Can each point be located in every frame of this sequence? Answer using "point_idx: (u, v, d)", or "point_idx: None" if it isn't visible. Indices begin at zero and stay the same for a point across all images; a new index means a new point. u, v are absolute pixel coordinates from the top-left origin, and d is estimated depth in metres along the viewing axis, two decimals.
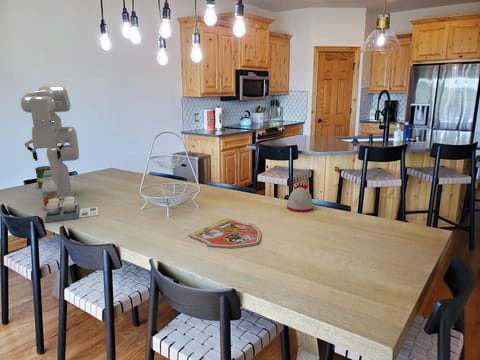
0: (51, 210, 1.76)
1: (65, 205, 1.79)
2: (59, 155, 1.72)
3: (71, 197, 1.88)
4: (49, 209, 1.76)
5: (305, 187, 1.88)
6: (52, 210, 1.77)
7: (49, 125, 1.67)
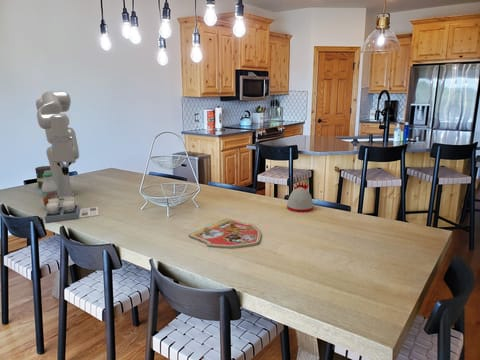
0: (51, 210, 1.76)
1: (65, 205, 1.79)
2: (67, 171, 1.84)
3: (71, 197, 1.88)
4: (49, 209, 1.76)
5: (305, 187, 1.88)
6: (52, 210, 1.77)
7: (67, 141, 1.79)
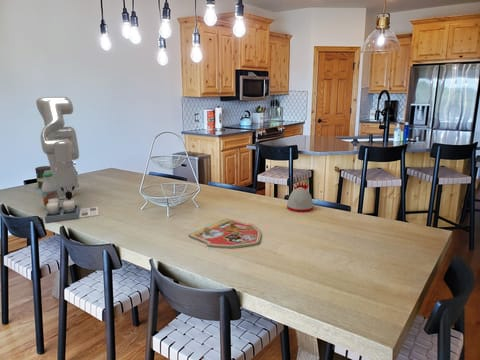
0: (51, 210, 1.76)
1: (65, 205, 1.79)
2: (71, 196, 1.87)
3: (71, 198, 1.88)
4: (49, 209, 1.76)
5: (305, 187, 1.88)
6: (52, 210, 1.77)
7: (71, 166, 1.82)
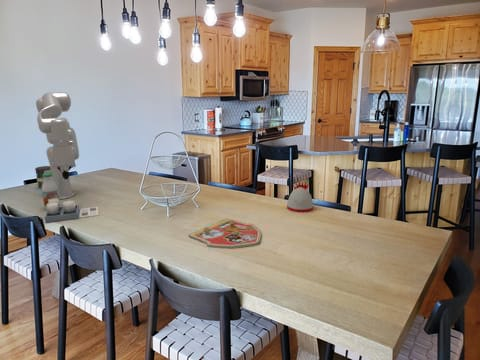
0: (51, 210, 1.76)
1: (65, 205, 1.79)
2: (67, 175, 1.84)
3: None
4: (49, 209, 1.76)
5: (305, 187, 1.88)
6: (52, 210, 1.77)
7: (68, 145, 1.80)
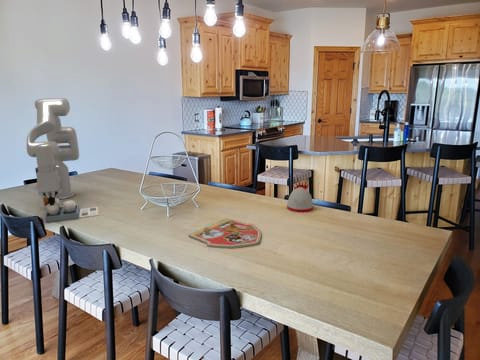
0: (51, 211, 1.77)
1: (65, 205, 1.79)
2: (53, 201, 1.77)
3: None
4: (49, 210, 1.76)
5: (305, 187, 1.88)
6: (52, 211, 1.77)
7: (53, 170, 1.73)
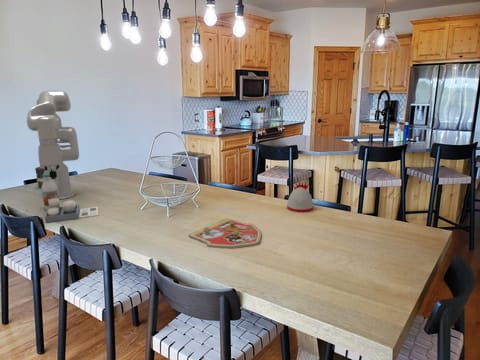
0: (52, 215, 1.77)
1: (65, 205, 1.79)
2: (55, 175, 1.77)
3: None
4: (50, 214, 1.77)
5: (305, 187, 1.88)
6: (53, 215, 1.77)
7: (55, 144, 1.72)
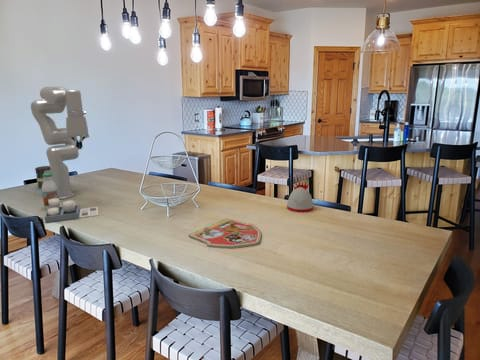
0: (52, 215, 1.77)
1: (65, 205, 1.79)
2: (81, 146, 1.89)
3: None
4: (50, 214, 1.77)
5: (305, 187, 1.88)
6: (53, 215, 1.77)
7: (81, 115, 1.84)
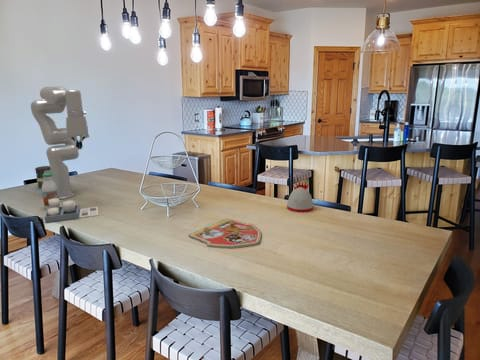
0: (52, 215, 1.77)
1: (65, 205, 1.79)
2: (81, 146, 1.89)
3: None
4: (50, 214, 1.77)
5: (305, 187, 1.88)
6: (53, 215, 1.77)
7: (81, 115, 1.84)
